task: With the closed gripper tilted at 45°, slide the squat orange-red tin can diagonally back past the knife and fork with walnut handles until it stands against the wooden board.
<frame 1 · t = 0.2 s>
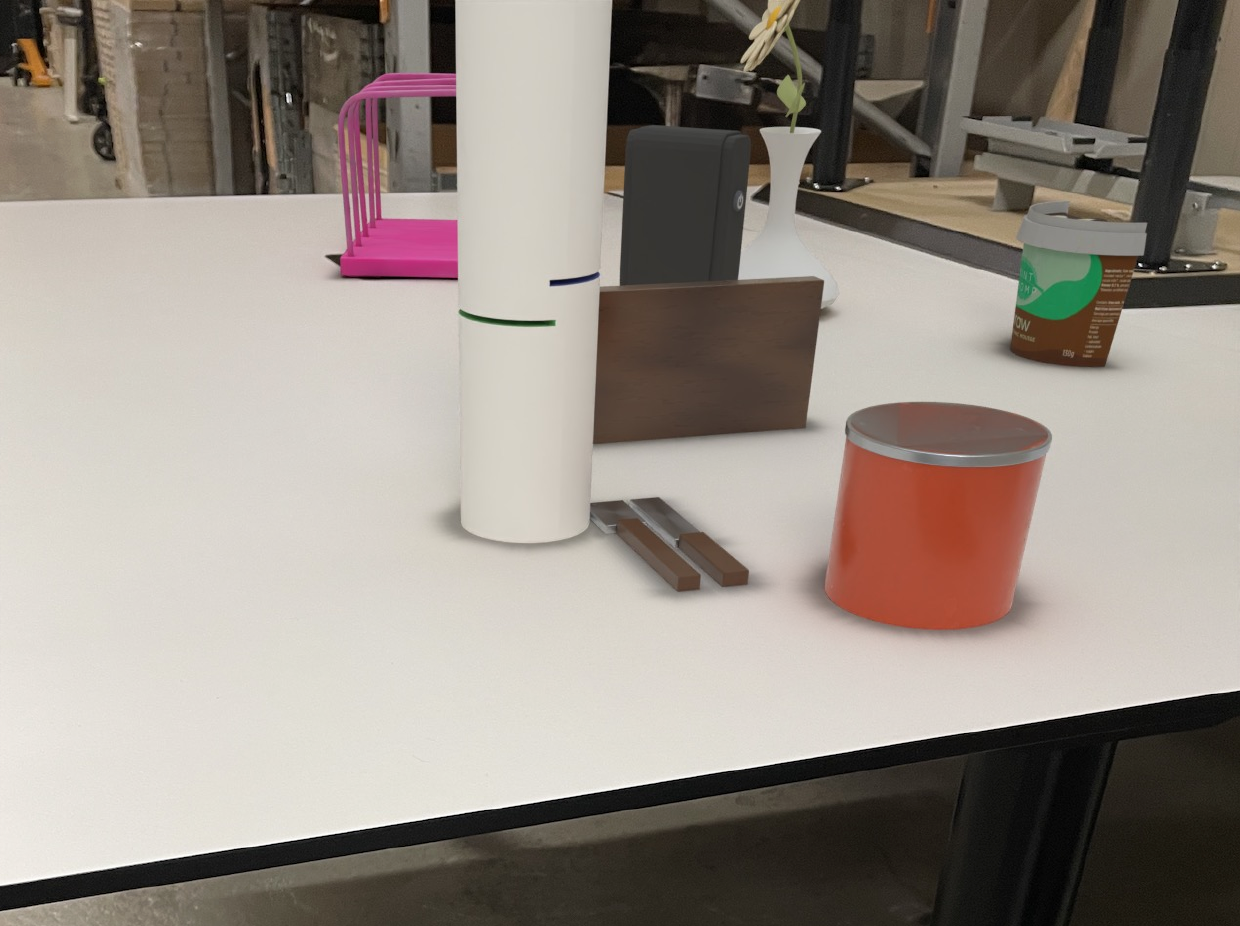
wooden board: (689, 434, 93), on the table
food container: (1037, 357, 112), on the table
cylindrical container: (524, 525, 78), on the table
file sorter: (441, 260, 145), on the table
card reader: (675, 349, 113), on the table
tin can: (916, 595, 70), on the table
cutlery: (664, 546, 75), on the table
flower in vase: (768, 316, 124), on the table
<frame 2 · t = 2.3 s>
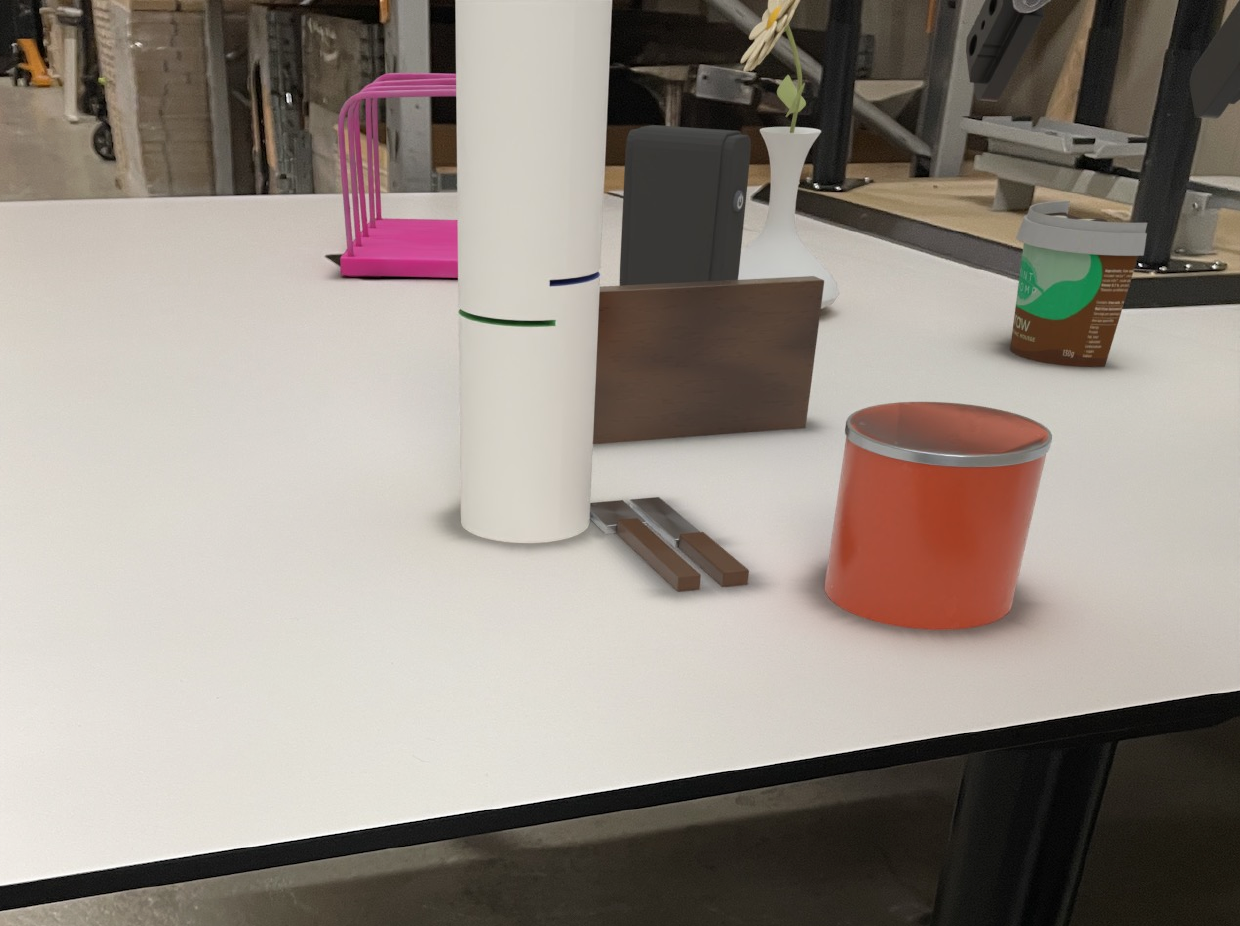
hand: (1092, 91, 52), 22 cm above the table, tool tilted 40°, fingers open, 8 cm apart
nothing on the table moved.
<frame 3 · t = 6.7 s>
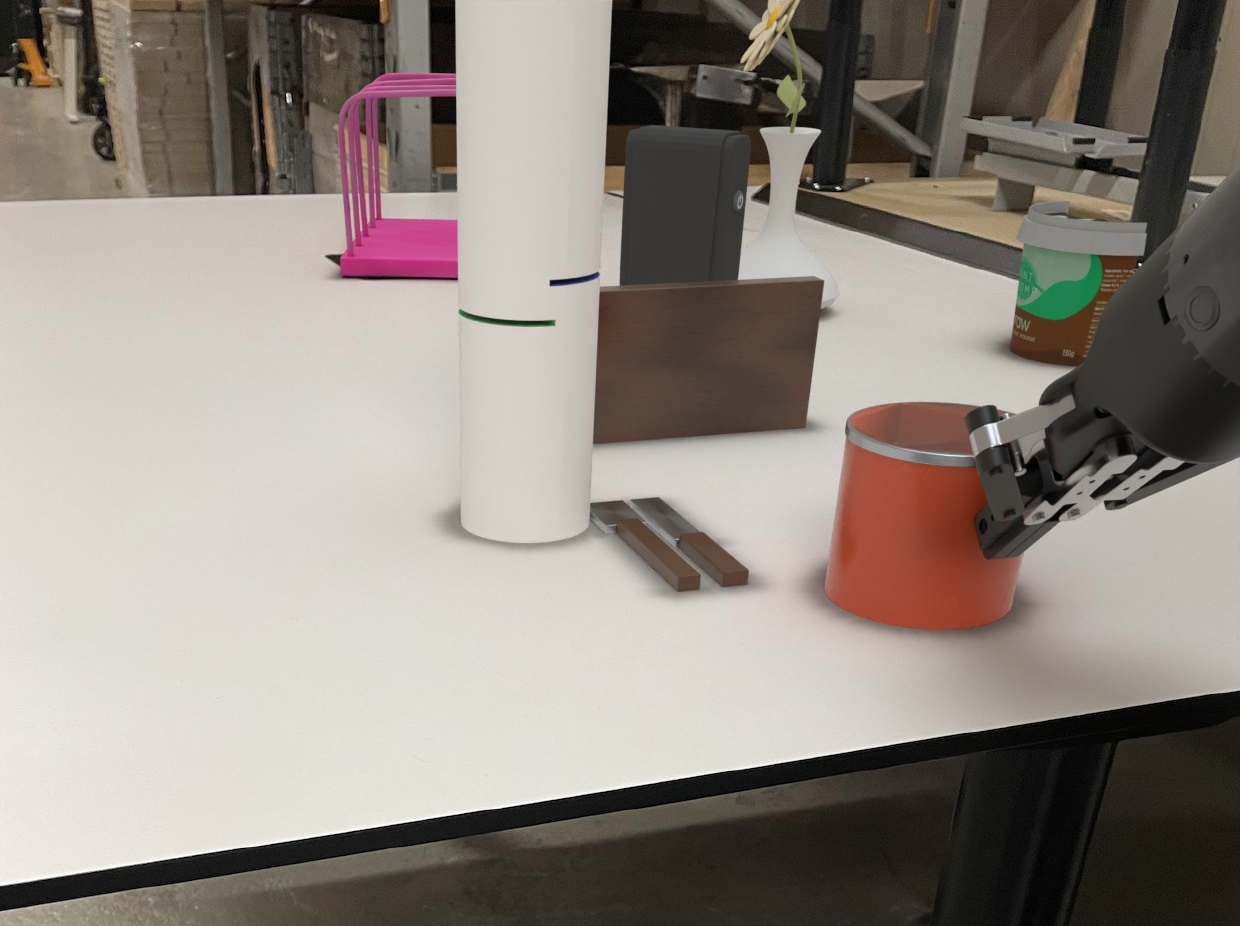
hand: (993, 539, 63), 4 cm above the table, tool tilted 45°, fingers closed
tin can: (916, 595, 70), on the table, touching gripper
everything else where it was.
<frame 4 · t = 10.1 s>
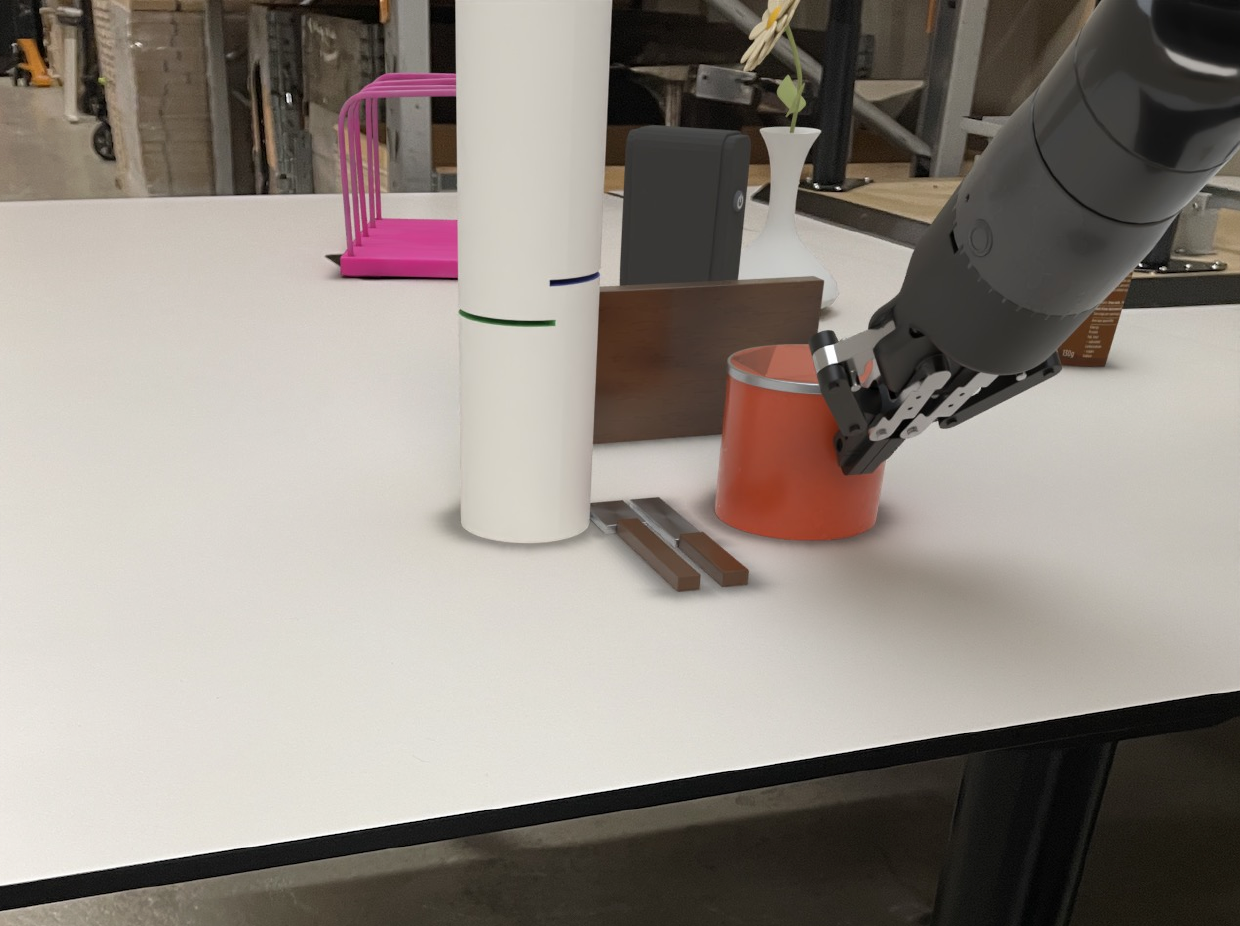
hand: (851, 458, 73), 4 cm above the table, tool tilted 45°, fingers closed
tin can: (794, 514, 79), on the table, touching gripper
everything else where it was.
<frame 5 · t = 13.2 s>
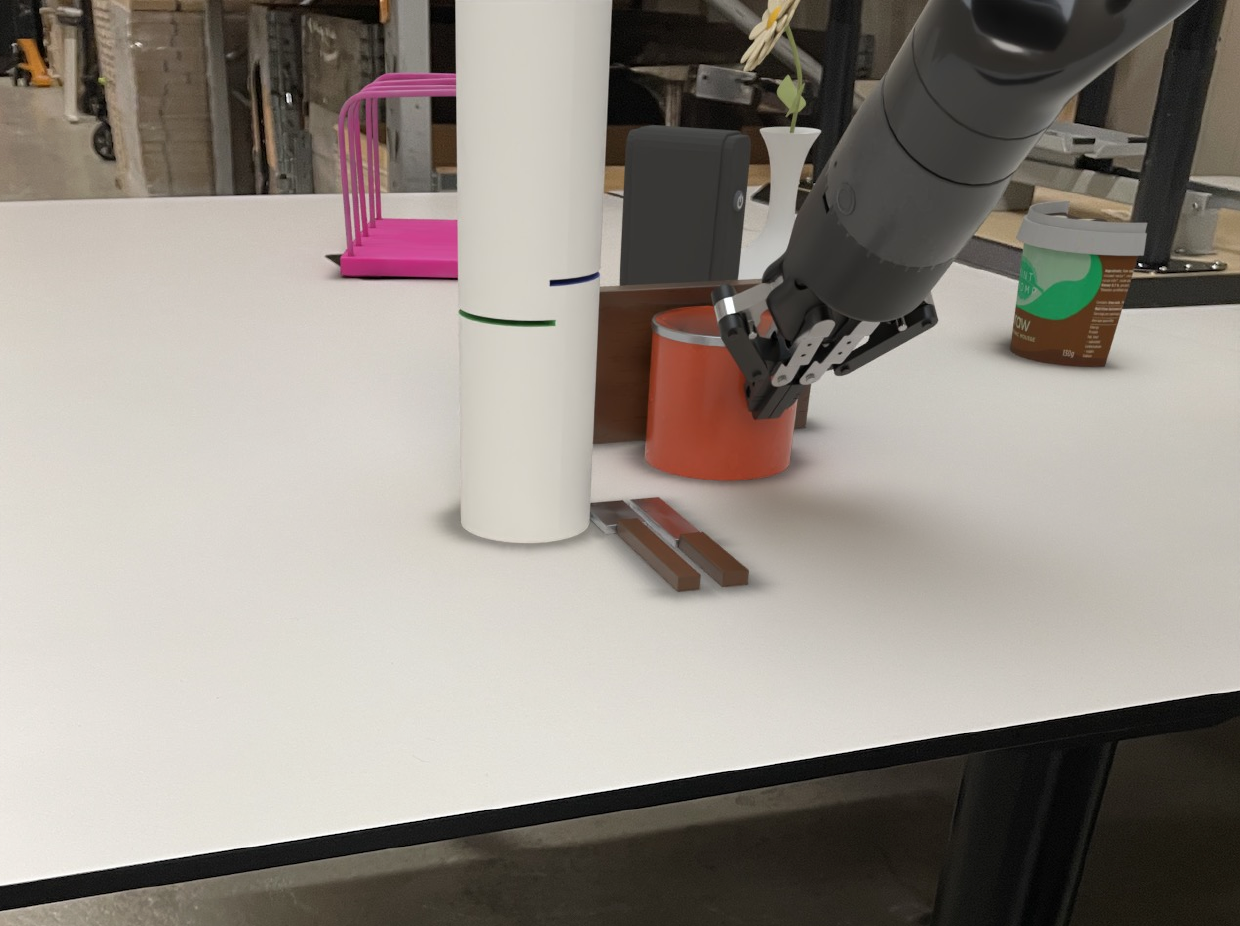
hand: (760, 404, 81), 4 cm above the table, tool tilted 45°, fingers closed
tin can: (716, 459, 88), on the table, touching gripper
everything else where it was.
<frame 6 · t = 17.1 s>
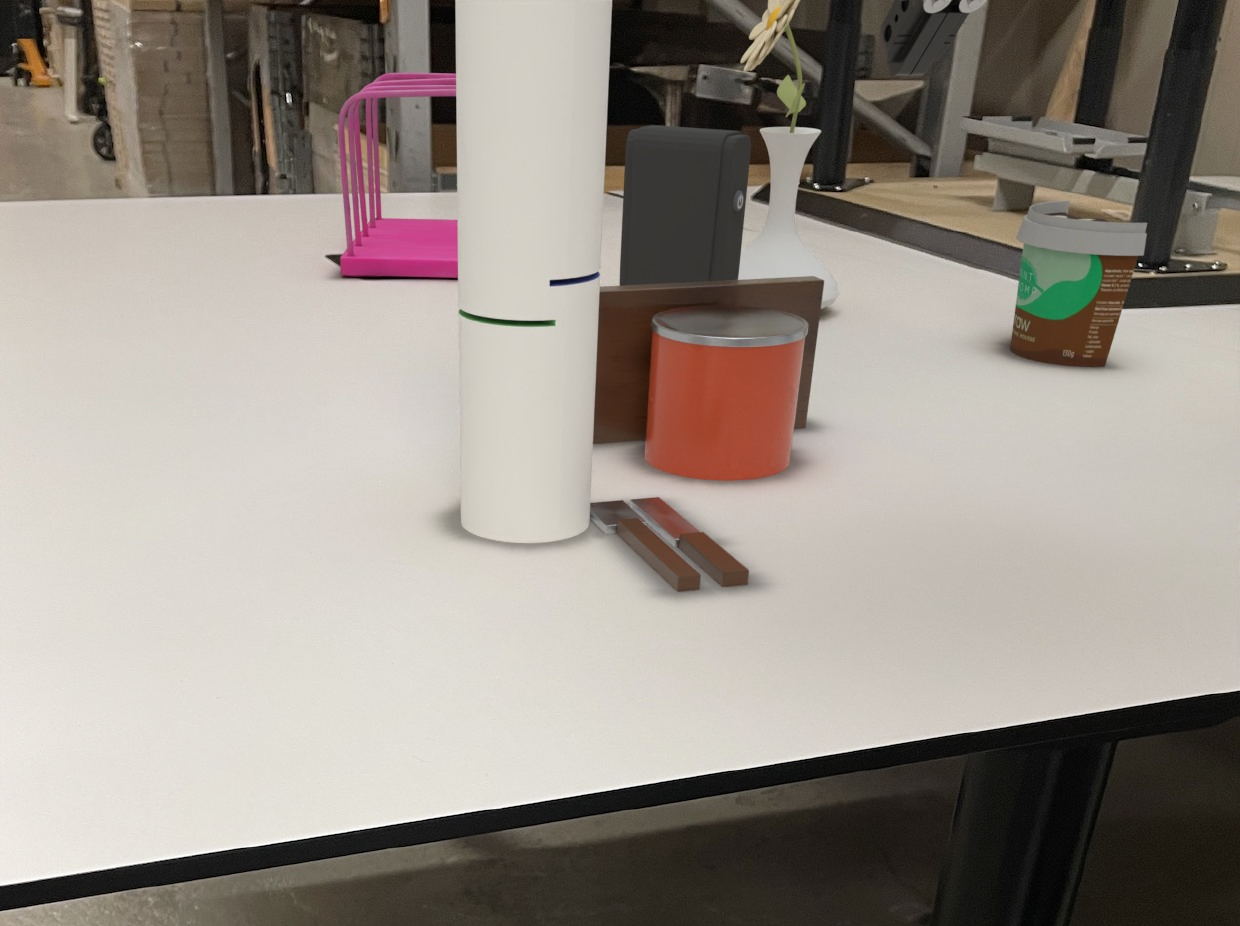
hand: (900, 58, 64), 22 cm above the table, tool tilted 45°, fingers closed
tin can: (716, 459, 88), on the table
everything else where it was.
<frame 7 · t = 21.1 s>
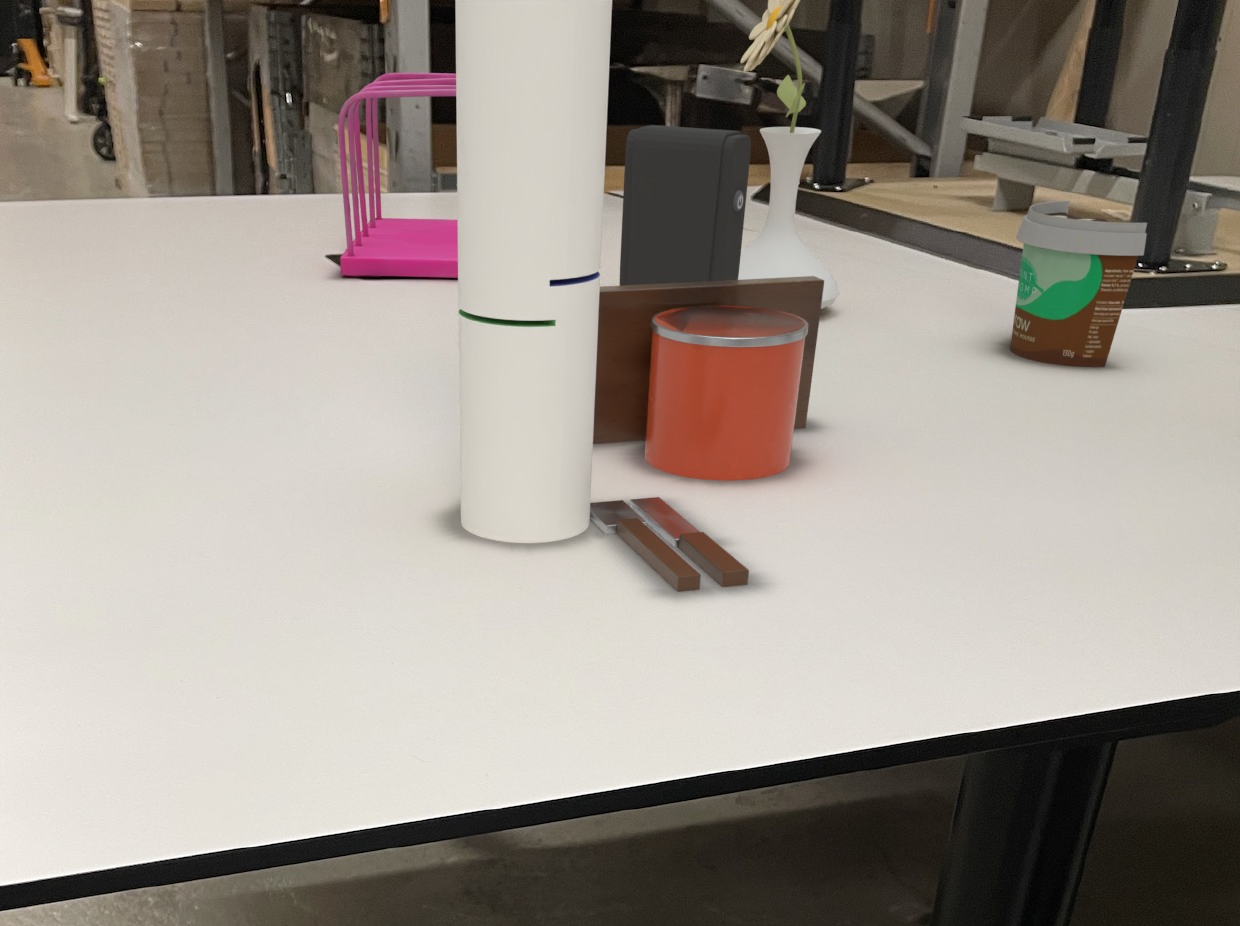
nothing on the table moved.
at the end: tin can inside the target area on the table beside the wooden board (0.8 cm from its centre), on the table; tin can inside the target area (0.8 cm from its centre), on the table; tin can tilted 0° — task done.
